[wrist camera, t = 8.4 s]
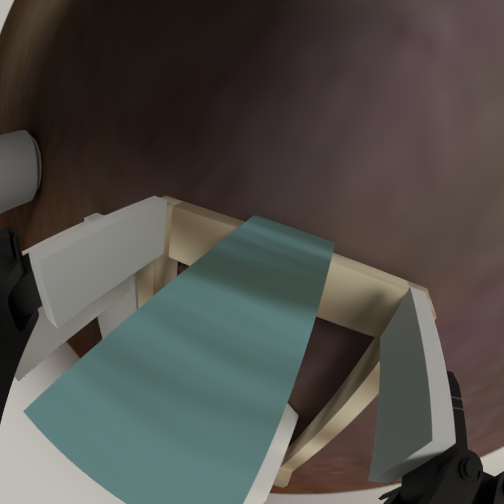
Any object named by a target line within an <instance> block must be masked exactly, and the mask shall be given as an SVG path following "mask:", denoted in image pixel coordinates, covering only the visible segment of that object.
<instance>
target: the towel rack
mask: <svg viewBox="0 0 504 504" xmlns="http://www.w3.org/2000/svg"><path fill="white" fill-rule="evenodd" d="M161 198H163V199H166V200H167V210H166V223H165V239H164V253H163V254H162V255H160V256H159V257H157V258H156V259H154V260H153V261H151V262H150V263H148V264H147V265H145V266H144V267H143V268H141V269H140V270H138V271H137V291H138V307H139V309H137V310H136V311H135V312H134V313H133V314H131V315H130V316H129V317H128V318H127V319H126V320H124V321H123V322H122V323H121V324H120V325H119V326H117V327H116V328H115V329H114V330H113V331H112V332H110V333H109V334H108V335H107V336H106V337H105V338H104V339H102V340H101V341H100V342H99V343H98V344H97V345H96V346H94V347H93V348H92V349H91V350H90V351H89V352H88V353H86V354H85V355H84V356H83V357H82V358H81V359H80V360H79V361H77V362H76V363H75V364H74V365H73V366H72V367H71V368H70V369H68V370H67V371H66V372H65V373H64V374H63V375H62V376H61V377H60V378H59V379H57V381H55V382H54V383H53V384H52V385H51V386H50V387H49V388H48V389H47V390H45V391H44V392H43V393H42V394H41V395H40V396H39V397H38V398H37V399H36V400H35V401H34V402H33V403H32V404H30V405H29V406H28V407H27V408H26V409H25V410H24V413H25V414H26V415H27V416H28V417H29V418H30V420H31V421H32V422H33V423H34V424H35V426H36V427H37V428H38V429H39V430H40V431H41V432H42V433H43V434H44V435H45V436H46V437H47V438H48V439H49V441H50V442H51V443H53V445H54V446H55V447H57V449H59V450H60V451H61V452H62V453H63V454H64V455H65V456H66V457H67V458H68V459H69V460H70V461H71V462H73V463H74V464H75V465H76V466H77V467H78V468H79V469H81V470H82V471H83V472H84V473H86V474H87V475H88V476H89V477H90V478H92V479H93V480H94V481H95V482H97V483H98V484H99V485H101V486H102V487H103V488H105V489H106V490H107V491H109V492H110V493H112V494H113V495H114V496H116V497H117V498H119V499H121V500H122V501H123V502H125V503H126V504H243V503H244V501H245V499H246V497H247V495H248V493H249V491H250V489H251V487H252V485H253V483H254V481H255V479H256V476H257V474H258V472H259V470H260V468H261V466H262V463H263V461H264V459H265V456H266V454H267V452H268V450H269V447H270V445H271V442H272V440H273V438H274V435H275V433H276V430H277V428H278V425H279V423H280V420H281V418H282V415H283V413H284V410H285V407H286V405H287V402H288V399H289V397H290V394H291V391H292V388H293V386H294V383H295V380H296V377H297V374H298V371H299V368H300V365H301V363H302V360H303V356H304V353H305V350H306V347H307V344H308V341H309V338H310V335H311V331H312V328H313V325H314V321H315V318H316V317H319V318H322V319H325V320H327V321H330V322H333V323H336V324H338V325H341V326H344V327H347V328H350V329H352V330H355V331H358V332H361V333H364V334H367V335H369V336H372V337H374V339H373V341H372V342H371V344H370V345H369V347H368V348H367V350H366V351H365V353H364V354H363V356H362V357H361V359H360V360H359V362H358V363H357V364H356V366H355V367H354V369H353V370H352V371H351V373H350V374H349V376H348V377H347V378H346V380H345V381H344V382H343V384H342V385H341V386H340V388H339V389H338V390H337V392H336V393H335V394H334V395H333V397H332V398H331V399H330V400H329V402H328V403H327V404H326V405H325V407H324V408H323V409H322V410H321V411H320V413H319V414H318V415H317V416H316V417H315V419H314V420H313V421H312V422H311V423H310V424H309V425H308V427H307V428H306V429H305V430H304V431H303V432H302V433H301V434H300V435H299V437H298V438H297V439H296V440H295V441H294V442H293V443H292V444H291V445H290V446H289V447H288V448H287V450H286V453H285V456H284V458H283V461H282V463H281V466H280V468H279V471H278V473H277V476H276V478H275V480H274V483H273V485H276V486H280V487H285V486H287V484H288V482H289V479H290V477H291V474H292V471H294V470H295V469H296V468H298V467H299V466H300V465H302V464H303V463H304V462H305V461H307V460H308V459H309V458H310V457H312V456H313V455H314V454H315V453H317V452H318V451H319V450H320V449H321V448H323V447H324V446H325V445H326V444H327V443H328V442H330V441H331V440H332V439H333V438H334V437H335V436H336V435H337V434H338V433H340V432H341V431H342V430H343V429H344V428H345V427H346V426H347V425H348V424H349V423H350V422H351V421H352V420H353V419H354V418H355V417H356V416H357V415H358V414H359V413H360V412H361V411H362V410H363V409H364V408H365V407H366V406H367V405H368V404H369V403H370V402H371V401H372V400H373V399H374V398H375V396H376V395H377V394H378V393H379V379H380V337H381V335H382V334H383V332H384V330H385V329H386V327H387V326H388V324H389V322H390V321H391V319H392V317H393V316H394V314H395V312H396V311H397V309H398V307H399V306H400V304H401V302H402V300H403V298H404V297H405V295H406V293H407V291H408V289H409V288H410V287H413V288H415V289H418V290H421V291H423V292H426V295H427V298H428V301H429V305H430V308H431V311H432V315H433V318H434V320H435V319H436V315H435V311H434V308H433V305H432V302H431V299H430V296H429V293H428V290H427V288H424V287H422V286H419V285H417V284H414V283H411V282H409V281H406V280H404V279H401V278H399V277H396V276H394V275H391V274H388V273H386V272H383V271H381V270H378V269H375V268H373V267H370V266H367V265H365V264H362V263H359V262H357V261H354V260H351V259H349V258H346V257H343V256H341V255H338V254H335V253H333V250H334V246H335V242H332V241H329V240H326V239H323V238H321V237H318V236H315V235H312V234H309V233H307V232H304V231H301V230H298V229H295V228H292V227H289V226H287V225H284V224H281V223H278V222H275V221H272V220H269V219H266V218H263V217H260V216H257V215H254V216H252V217H251V218H250V219H248V220H247V221H246V222H245V221H242V220H239V219H236V218H233V217H230V216H227V215H224V214H221V213H218V212H215V211H212V210H209V209H206V208H203V207H200V206H197V205H193V204H190V203H187V202H184V201H181V200H178V199H175V198H172V197H168V196H164V197H161ZM178 261H179V262H181V263H184V264H186V265H188V266H189V267H188V268H187V269H186V270H184V271H183V272H182V273H181V274H179V275H178V276H177V267H178Z"/></svg>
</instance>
